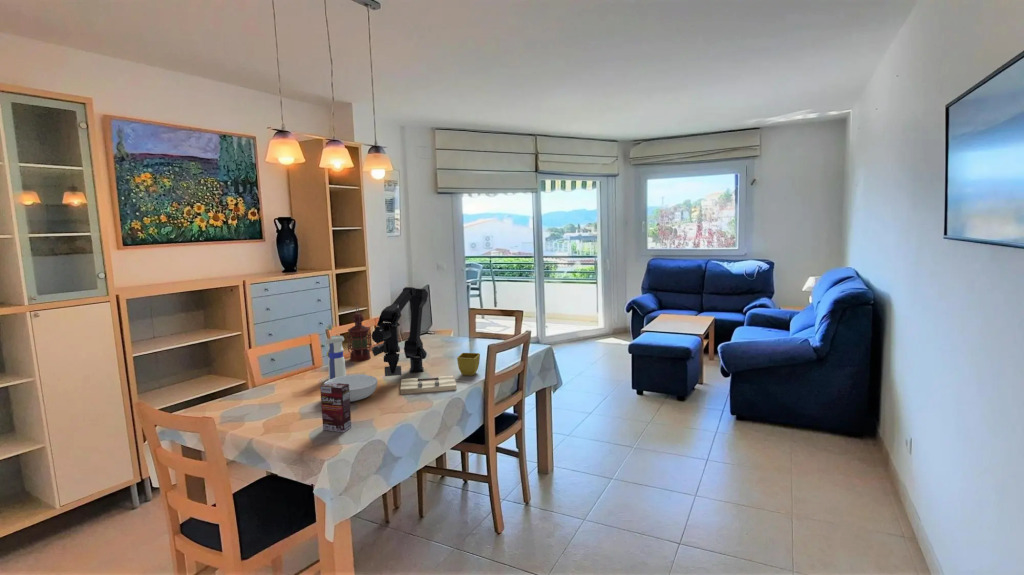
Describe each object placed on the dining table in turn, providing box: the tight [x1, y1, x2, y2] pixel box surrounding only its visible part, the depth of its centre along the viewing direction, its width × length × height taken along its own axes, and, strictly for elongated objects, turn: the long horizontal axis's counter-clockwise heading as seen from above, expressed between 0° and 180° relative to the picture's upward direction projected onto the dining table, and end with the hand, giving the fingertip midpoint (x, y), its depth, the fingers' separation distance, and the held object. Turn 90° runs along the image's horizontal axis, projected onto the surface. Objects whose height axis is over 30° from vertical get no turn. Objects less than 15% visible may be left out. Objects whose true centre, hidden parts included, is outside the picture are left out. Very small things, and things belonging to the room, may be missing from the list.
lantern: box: [346, 301, 373, 362], centre depth 268 cm, size 12×12×30 cm
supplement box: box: [319, 382, 352, 433], centre depth 177 cm, size 9×5×16 cm, turn 75°
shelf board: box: [400, 375, 457, 395], centre depth 222 cm, size 14×23×4 cm, turn 100°
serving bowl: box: [323, 374, 378, 403], centre depth 209 cm, size 21×21×7 cm
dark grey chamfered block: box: [384, 365, 402, 377], centre depth 227 cm, size 3×7×4 cm, turn 100°
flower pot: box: [456, 352, 481, 376], centre depth 238 cm, size 9×9×9 cm
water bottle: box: [325, 323, 347, 380], centre depth 234 cm, size 8×8×25 cm
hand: (393, 372), depth 227 cm, fingers closed on dark grey chamfered block, 3 cm apart
